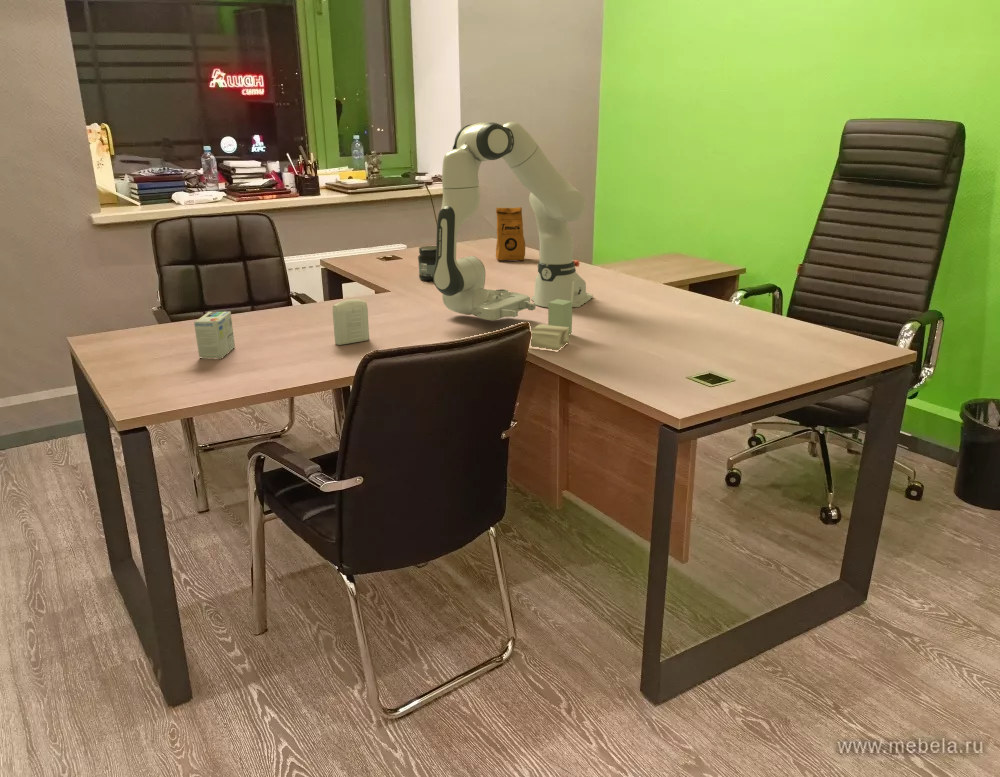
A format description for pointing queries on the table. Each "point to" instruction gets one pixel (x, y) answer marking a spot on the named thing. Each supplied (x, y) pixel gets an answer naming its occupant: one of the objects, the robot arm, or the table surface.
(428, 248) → the supplement container
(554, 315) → the green block
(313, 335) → the table surface
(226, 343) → the light bulb box
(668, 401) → the table surface
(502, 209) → the coffee package
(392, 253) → the table surface
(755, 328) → the table surface
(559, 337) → the base block
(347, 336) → the photo printer
